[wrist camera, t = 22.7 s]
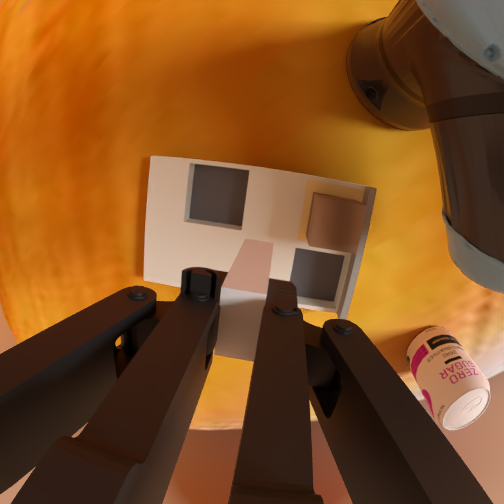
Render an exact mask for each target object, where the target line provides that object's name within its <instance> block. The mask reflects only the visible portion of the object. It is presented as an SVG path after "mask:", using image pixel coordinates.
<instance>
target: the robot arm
mask: <svg viewBox="0 0 504 504" xmlns="http://www.w3.org/2000/svg"><path fill="white" fill-rule="evenodd" d="M346 67H347V74H348V78H349V81H350V84H351V87H352V89H353V91H354V93H355V94H356V96H357V98H358V99H359V101H360V102H361V103H362V104H363V106H364V107H365V108H366V109H367V110H368V111H369V112H370V113H371V114H372V115H374V116H375V117H376V118H378V119H379V120H381V121H382V122H384V123H386V124H388V125H390V126H393V127H395V128H398V129H403V130H410V131H415V130H423V129H428V128H430V129H431V133H432V138H433V143H434V148H435V153H436V158H437V164H438V170H439V177H440V184H441V192H442V201H443V209H442V217H443V220H444V223H445V225H446V231H447V240H448V249H449V253H450V256H451V258H452V260H453V262H454V263H455V265H456V266H457V267H458V268H459V269H460V270H461V272H462V273H463V274H464V275H465V276H467V277H468V278H469V279H471V280H472V281H474V282H475V283H477V284H479V285H481V286H483V287H485V288H488V289H490V290H493V291H496V292H499V293H503V294H504V0H399V1H398V3H397V4H396V6H395V7H394V9H393V10H392V12H391V13H390V14H389V16H387V17H384V18H380V19H376V20H374V21H372V22H370V23H368V24H366V25H365V26H364V27H363V28H361V29H360V30H359V32H358V33H357V34H356V36H355V37H354V39H353V41H352V42H351V44H350V47H349V49H348V53H347V60H346ZM273 245H274V243H270V242H264V241H258V240H251V239H245V240H244V242H243V244H242V246H241V248H240V250H239V252H238V254H237V256H236V258H235V260H234V262H233V264H232V266H231V268H230V270H229V272H224V271H218V270H213V269H209V268H205V267H190V268H185V269H184V270H182V276H181V293H180V295H179V296H178V297H177V299H176V300H175V301H156V296H157V294H156V292H155V291H154V290H152V289H150V288H146V287H144V286H133V287H127V288H124V289H122V290H120V291H118V292H116V293H114V294H112V295H110V296H108V297H106V298H104V299H102V300H101V301H99V302H97V303H95V304H93V305H91V306H89V307H87V308H85V309H83V310H81V311H79V312H78V313H76V314H74V315H72V316H70V317H68V318H66V319H64V320H62V321H60V322H59V323H57V324H55V325H53V326H51V327H49V328H47V329H45V330H44V331H42V332H40V333H38V334H36V335H34V336H32V337H31V338H29V339H27V340H25V341H23V342H21V343H19V344H18V345H16V346H14V347H12V348H10V349H9V350H7V351H5V352H3V353H1V354H0V494H1V493H3V492H4V491H6V490H7V489H8V488H10V487H11V486H12V485H14V484H15V483H16V482H18V481H19V480H20V479H21V478H22V477H24V476H25V475H26V474H27V473H28V472H30V471H31V470H32V469H33V468H34V467H35V469H34V470H33V472H32V473H31V475H30V476H29V478H28V479H27V480H26V482H25V483H24V485H23V486H22V488H21V489H20V491H19V492H18V494H17V495H16V497H15V498H14V500H13V501H12V503H11V504H162V503H163V500H164V497H165V494H166V491H167V488H168V485H169V483H170V480H171V477H172V474H173V471H174V469H175V466H176V463H177V460H178V457H179V454H180V451H181V449H182V446H183V443H184V440H185V437H186V435H187V432H188V429H189V426H190V423H191V420H192V418H193V415H194V412H195V409H196V406H197V403H198V400H199V398H200V395H201V392H202V389H203V386H204V383H205V381H206V378H207V375H208V372H209V369H210V366H211V364H212V357H213V350H214V347H215V353H214V354H215V355H220V356H225V357H231V358H236V359H242V360H248V361H254V364H253V370H252V375H251V381H250V387H249V393H248V399H247V405H246V410H245V416H244V421H243V427H242V433H241V438H240V444H239V449H238V455H237V460H236V465H235V471H234V476H233V481H232V486H231V492H230V497H229V502H228V504H324V503H323V499H322V497H321V495H318V494H315V492H314V489H313V470H312V469H313V468H312V442H311V422H310V405H309V399H310V402H311V404H312V407H313V409H314V411H315V414H316V416H317V419H318V421H319V423H320V426H321V428H322V431H323V433H324V435H325V438H326V440H327V442H328V445H329V447H330V450H331V452H332V454H333V457H334V459H335V462H336V464H337V467H338V469H339V471H340V474H341V476H342V479H343V481H344V483H345V486H346V488H347V491H348V493H349V495H350V498H351V500H352V502H353V504H493V503H492V501H491V500H490V498H489V497H488V496H487V494H486V492H485V491H484V490H483V488H482V487H481V485H480V484H479V482H478V481H477V480H476V478H475V477H474V475H473V474H472V473H471V471H470V470H469V468H468V467H467V466H466V464H465V463H464V462H463V460H462V459H461V457H460V456H459V455H458V453H457V452H456V451H455V449H454V448H453V446H452V445H451V444H450V442H449V441H448V440H447V438H446V437H445V436H444V434H443V433H442V432H441V430H440V429H439V428H438V426H437V425H436V424H435V422H434V421H433V420H432V418H431V417H430V416H429V414H428V413H427V412H426V410H425V409H424V408H423V407H422V405H421V404H420V403H419V401H418V400H417V399H416V397H415V396H414V395H413V394H412V392H411V391H410V390H409V388H408V387H407V386H406V385H405V383H404V382H403V381H402V379H401V378H400V377H399V376H398V374H397V373H396V372H395V371H394V369H393V368H392V367H391V365H390V364H389V363H388V362H387V360H386V359H385V358H384V357H383V355H382V354H381V353H380V352H379V350H378V349H377V348H376V347H375V345H374V344H373V343H372V342H371V340H370V339H369V338H368V337H367V336H366V334H365V333H364V332H363V331H362V329H361V328H360V327H358V326H357V325H356V324H354V323H352V322H351V321H348V320H345V319H330V320H327V321H325V323H324V325H323V328H320V327H317V326H314V325H312V324H309V323H307V322H305V321H304V320H303V314H302V312H301V310H300V309H299V308H298V302H297V289H296V286H295V285H294V284H293V283H292V282H291V281H285V280H279V279H272V278H269V275H270V268H271V260H272V253H273ZM120 336H121V344H120V345H119V346H117V347H116V345H115V342H116V340H117V339H118V338H119V337H120ZM87 422H88V424H87V425H86V426H85V428H84V429H83V431H82V432H81V433H80V434H79V436H77V437H75V438H72V437H71V436H72V435H73V434H74V433H76V432H77V431H78V430H79V429H80V428H82V427H83V426H84V425H85V424H86V423H87Z"/></svg>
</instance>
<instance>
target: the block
mask: <svg viewBox="0 0 504 504" xmlns="http://www.w3.org/2000/svg"><path fill="white" fill-rule="evenodd" d="M365 211H366V205H364V204H362V203H360V202H359V201H357V200H354V199H349V198H343V197H338V196H333V195H327V194H322V193H316V192H313V196H312V202H311V208H310V214H309V219H308V225H307V231H306V238H307V241H308V245H309V246H311V247H317V248H323V249H329V250H335V251H341V252H347V253H352V254H357V249H358V245H359V240H360V236H361V231H362V226H363V221H364V216H365Z"/></svg>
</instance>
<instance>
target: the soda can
mask: <svg viewBox="0 0 504 504" xmlns="http://www.w3.org/2000/svg"><path fill="white" fill-rule="evenodd" d="M406 359H407V364H408V366H409V368H410V370H411V372H412V374H413V376H414V378H415V380H416V382H417V384H418V386H419V388H420V390H421V392H422V394H423V396H424V398H425V400H426V402H427V404H428V406H429V408H430V410H431V412H432V414H433V417H434V419H435V420H436V422H437V423H438V424H439V425H442V426H444V427H445V428H446V429H449V430H458V429H461V428H463V427H466V426H468V425H469V424H471V423H472V422H474V421H475V420H476V419H477V418H478V417H479V416H481V414H482V413H483V412H484V411H485V410H486V408H487V406H488V404H489V402H490V396H491V395H490V385H489V382H488V380H487V379H486V377H485V376H484V375H483V373H482V372H481V371H480V369H479V368H478V367H477V365H476V364H475V363H474V361H473V360H472V359H471V358H470V356H469V355H468V354H467V352H466V351H465V350H464V349H463V347H462V346H461V345H460V344H459V342H458V341H457V340H456V339H455V337H454V336H453V335H452V334H451V333H450V331H449V330H447V329H446V328H444V327H436V326H435V327H432V328H428V329H426V330H425V331H423V332H421V333H420V334H418V335H417V336H416V338H415V339H414V340H413V341H412V342H411V344H410V346H409V347H408V350H407V355H406Z"/></svg>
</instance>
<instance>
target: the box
mask: <svg viewBox="0 0 504 504" xmlns="http://www.w3.org/2000/svg"><path fill="white" fill-rule="evenodd" d="M313 192H316V193H322V194H327V195H333V196H338V197H343V198H349V199H354V200H357V201H359V202H360V203H362V204H364V205H366V211H365V216H364V221H363V226H362V231H361V236H360V240H359V245H358V249H357V254H352V253H347V252H341V251H335V250H329V249H323V248H317V247H311V246H309V245H308V241H307V238H306V231H307V225H308V219H309V214H310V208H311V202H312V196H313ZM375 194H376V188H373V187H370V186H366V185H362V184H357V183H352V182H347V181H342V180H337V179H332V178H326V177H321V176H315V175H309V174H304V173H298V172H292V171H285V170H279V169H272V168H266V167H259V166H251V165H244V164H236V163H228V162H220V161H211V160H201V159H192V158H181V157H170V156H151V160H150V170H149V180H148V192H147V206H146V222H145V244H144V280H145V281H150V282H155V283H160V284H165V285H170V286H175V287H181V276H182V270H184V269H185V268H190V267H205V268H209V269H213V270H218V271H224V272H229V270H230V268H231V266H232V264H233V262H234V260H235V258H236V256H237V254H238V252H239V250H240V248H241V246H242V244H243V242H244V240H245V239H251V240H258V241H264V242H270V243H274V245H273V253H272V260H271V268H270V275H269V278H272V279H279V280H285V281H291V282H292V283H293V284H294V285H295V286H296V289H297V302H298V308H305V309H312V310H319V311H326V312H333V313H337V315H338V318H339V319H345V320H346V317H347V314H348V310H349V307H350V303H351V300H352V296H353V292H354V288H355V285H356V281H357V277H358V273H359V269H360V265H361V261H362V256H363V252H364V248H365V243H366V239H367V234H368V230H369V225H370V220H371V215H372V210H373V205H374V200H375Z"/></svg>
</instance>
